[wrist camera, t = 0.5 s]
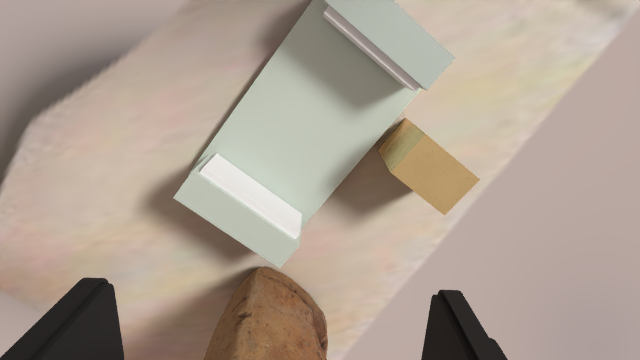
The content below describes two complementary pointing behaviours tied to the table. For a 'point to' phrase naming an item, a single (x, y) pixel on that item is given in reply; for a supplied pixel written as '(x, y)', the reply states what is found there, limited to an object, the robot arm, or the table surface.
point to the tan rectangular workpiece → (426, 167)
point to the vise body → (293, 138)
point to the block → (270, 322)
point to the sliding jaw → (390, 39)
